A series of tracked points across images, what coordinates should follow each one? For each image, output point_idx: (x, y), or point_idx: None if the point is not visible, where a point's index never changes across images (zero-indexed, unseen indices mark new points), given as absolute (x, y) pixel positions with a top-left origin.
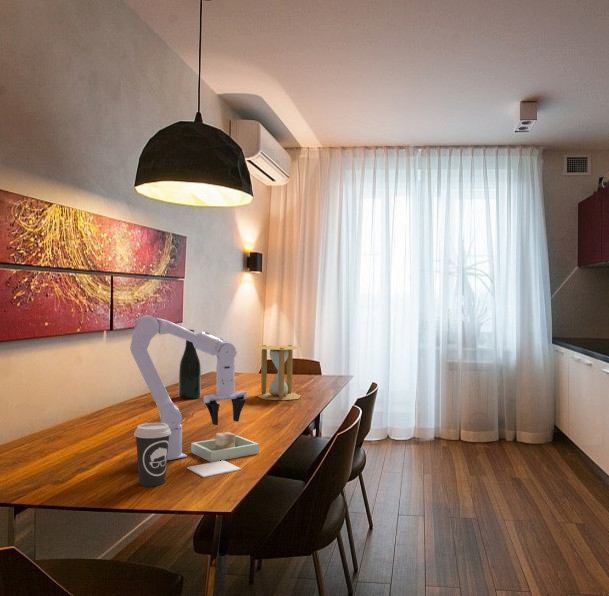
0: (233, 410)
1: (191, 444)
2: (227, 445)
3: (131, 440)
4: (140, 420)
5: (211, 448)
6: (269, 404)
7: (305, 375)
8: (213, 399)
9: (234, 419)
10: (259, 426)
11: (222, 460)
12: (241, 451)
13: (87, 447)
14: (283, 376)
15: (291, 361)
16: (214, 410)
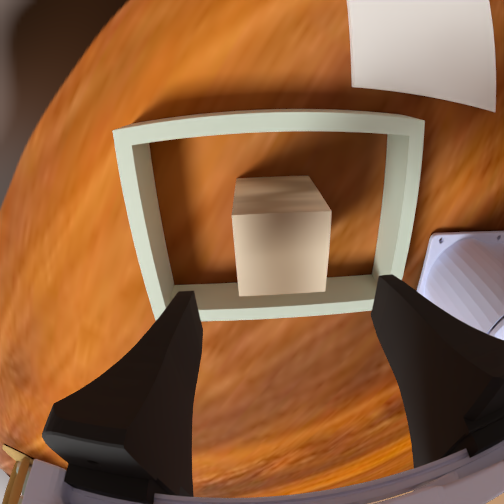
0: (191, 398)
1: None
2: (286, 190)
3: (403, 418)
4: (294, 488)
5: None
6: (43, 457)
7: None
8: (487, 459)
9: (199, 327)
10: (60, 399)
11: (361, 86)
12: (234, 112)
13: None
14: (14, 485)
15: (4, 497)
16: (487, 336)
